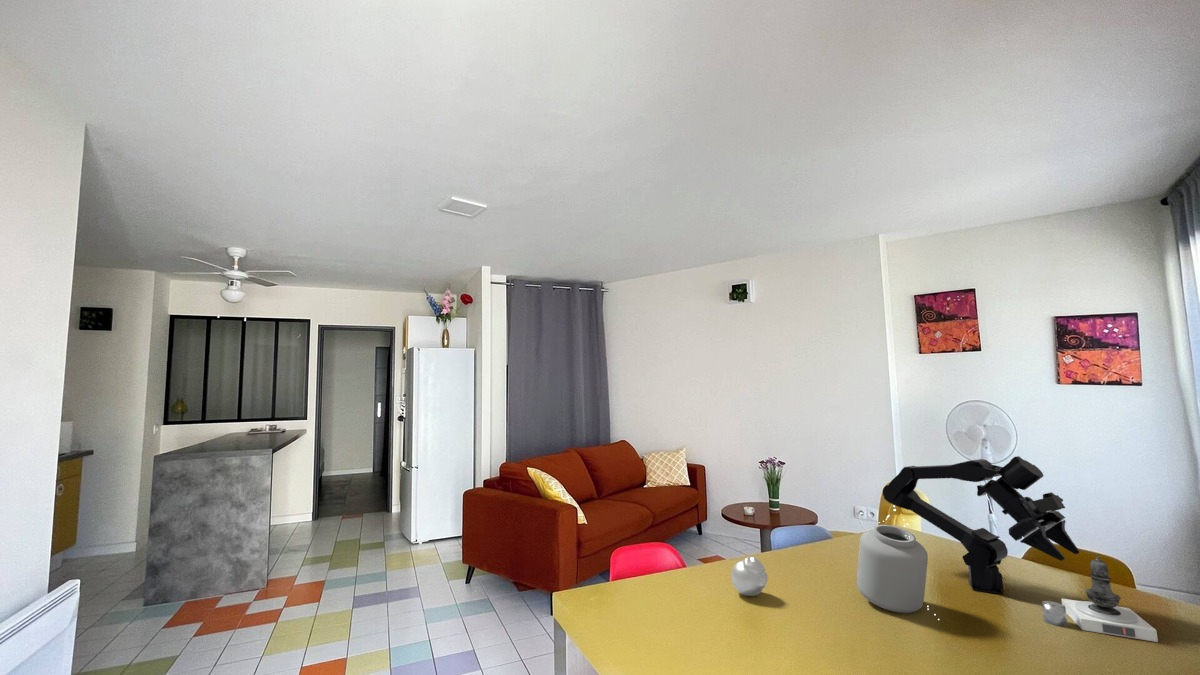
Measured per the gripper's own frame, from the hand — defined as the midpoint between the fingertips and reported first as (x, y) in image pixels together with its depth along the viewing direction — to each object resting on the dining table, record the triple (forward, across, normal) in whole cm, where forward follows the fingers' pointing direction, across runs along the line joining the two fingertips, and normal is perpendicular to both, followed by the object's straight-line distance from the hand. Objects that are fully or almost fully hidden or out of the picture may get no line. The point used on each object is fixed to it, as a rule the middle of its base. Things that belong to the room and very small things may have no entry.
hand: (1070, 556), depth 118 cm
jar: (-7, -32, +27) cm, 43 cm away
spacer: (+9, -9, +10) cm, 16 cm away
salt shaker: (+11, 0, +4) cm, 12 cm away
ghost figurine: (-24, -58, +45) cm, 77 cm away
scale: (+13, 0, +6) cm, 14 cm away
